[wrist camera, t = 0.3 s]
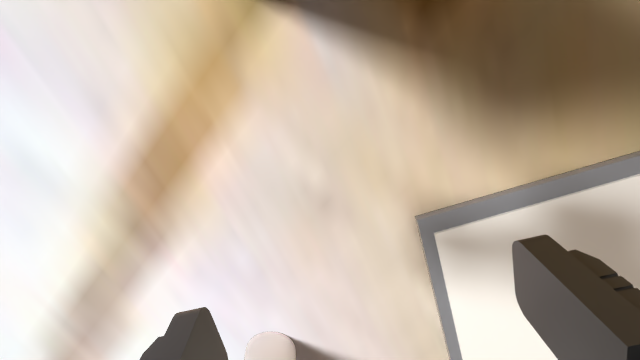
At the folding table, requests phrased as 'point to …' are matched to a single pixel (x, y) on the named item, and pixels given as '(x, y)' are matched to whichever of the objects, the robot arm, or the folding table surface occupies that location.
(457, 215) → the clipboard
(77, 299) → the folding table surface
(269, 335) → the marker
